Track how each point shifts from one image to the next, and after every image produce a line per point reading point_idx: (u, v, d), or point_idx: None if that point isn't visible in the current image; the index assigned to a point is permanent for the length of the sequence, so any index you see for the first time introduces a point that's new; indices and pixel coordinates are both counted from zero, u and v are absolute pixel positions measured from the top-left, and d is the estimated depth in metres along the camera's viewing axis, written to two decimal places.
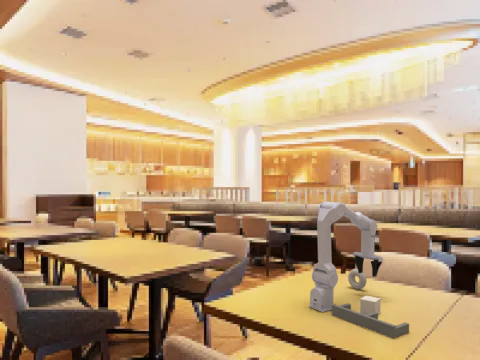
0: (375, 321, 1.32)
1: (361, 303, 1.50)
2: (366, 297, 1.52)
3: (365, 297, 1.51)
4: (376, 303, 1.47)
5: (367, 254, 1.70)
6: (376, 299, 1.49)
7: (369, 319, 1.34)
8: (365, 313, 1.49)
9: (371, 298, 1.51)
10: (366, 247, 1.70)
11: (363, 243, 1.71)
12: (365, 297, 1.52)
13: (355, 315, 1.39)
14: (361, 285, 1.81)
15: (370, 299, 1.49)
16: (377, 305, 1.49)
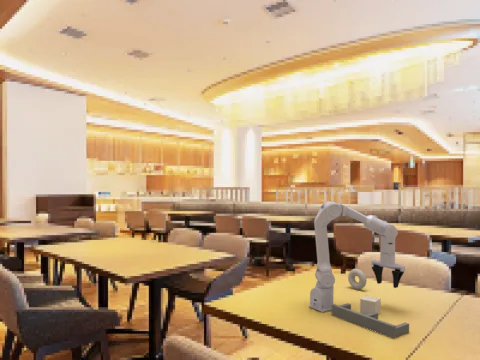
0: (375, 321, 1.32)
1: (361, 303, 1.50)
2: (366, 297, 1.52)
3: (365, 297, 1.51)
4: (376, 303, 1.47)
5: (387, 263, 1.55)
6: (376, 299, 1.49)
7: (369, 319, 1.34)
8: (365, 313, 1.49)
9: (371, 298, 1.51)
10: (386, 255, 1.55)
11: (380, 250, 1.57)
12: (365, 297, 1.52)
13: (355, 315, 1.39)
14: (361, 285, 1.81)
15: (370, 299, 1.49)
16: (377, 305, 1.49)
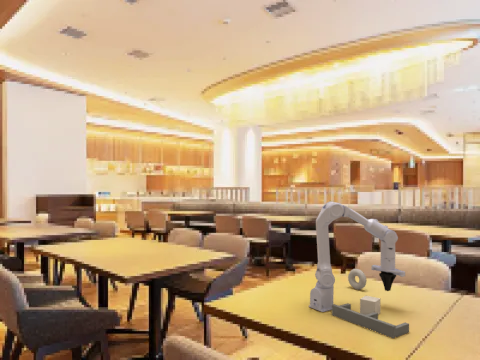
0: (375, 321, 1.32)
1: (361, 303, 1.50)
2: (366, 297, 1.52)
3: (365, 297, 1.51)
4: (376, 303, 1.47)
5: (388, 268, 1.54)
6: (376, 299, 1.49)
7: (369, 319, 1.34)
8: (365, 313, 1.49)
9: (371, 298, 1.51)
10: (386, 260, 1.55)
11: (381, 255, 1.57)
12: (365, 297, 1.52)
13: (355, 315, 1.39)
14: (361, 285, 1.81)
15: (370, 299, 1.49)
16: (377, 305, 1.49)
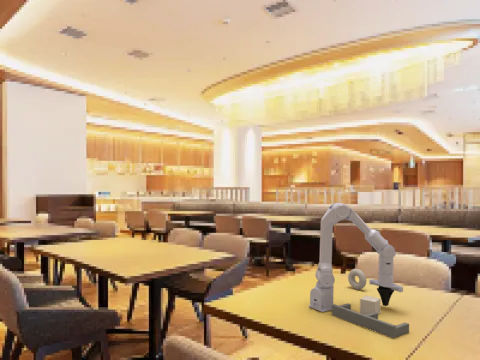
0: (375, 321, 1.32)
1: (361, 303, 1.50)
2: (366, 297, 1.52)
3: (365, 297, 1.51)
4: (376, 303, 1.47)
5: (385, 283, 1.54)
6: (376, 299, 1.49)
7: (369, 319, 1.34)
8: (365, 313, 1.49)
9: (371, 298, 1.51)
10: (384, 275, 1.54)
11: None
12: (365, 297, 1.52)
13: (355, 315, 1.39)
14: (361, 285, 1.81)
15: (370, 299, 1.49)
16: (377, 305, 1.49)
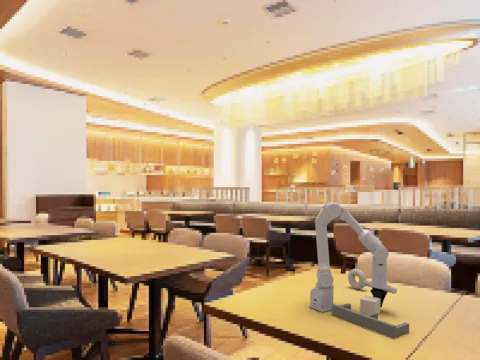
0: (375, 321, 1.32)
1: (361, 303, 1.50)
2: (366, 297, 1.52)
3: (365, 297, 1.51)
4: (376, 303, 1.47)
5: (379, 285, 1.51)
6: (376, 299, 1.49)
7: (369, 319, 1.34)
8: (365, 313, 1.49)
9: (371, 298, 1.51)
10: (378, 277, 1.51)
11: (372, 271, 1.54)
12: (365, 297, 1.52)
13: (355, 315, 1.39)
14: (361, 285, 1.81)
15: (370, 299, 1.49)
16: (377, 305, 1.49)
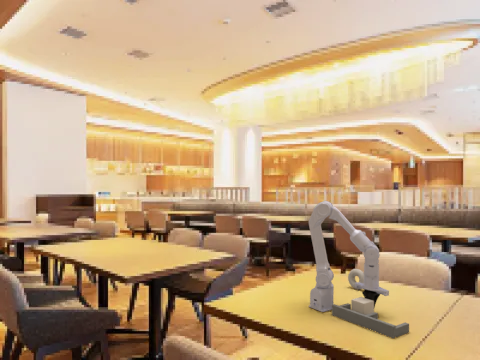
0: (375, 321, 1.32)
1: (352, 304, 1.48)
2: (359, 298, 1.50)
3: (358, 299, 1.49)
4: (366, 305, 1.44)
5: (371, 286, 1.48)
6: (368, 301, 1.46)
7: (369, 319, 1.34)
8: None
9: (363, 300, 1.48)
10: (370, 278, 1.48)
11: (364, 272, 1.52)
12: (358, 298, 1.50)
13: (355, 315, 1.39)
14: None
15: (361, 300, 1.47)
16: (369, 307, 1.45)
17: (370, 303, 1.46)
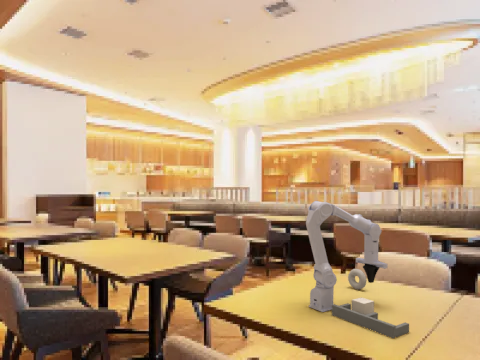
0: (375, 321, 1.32)
1: (352, 304, 1.48)
2: (359, 299, 1.50)
3: (358, 299, 1.49)
4: (366, 305, 1.45)
5: (371, 260, 1.59)
6: (368, 301, 1.46)
7: (369, 319, 1.34)
8: None
9: (364, 300, 1.48)
10: (370, 253, 1.60)
11: (365, 248, 1.62)
12: (358, 299, 1.50)
13: (355, 315, 1.39)
14: (361, 285, 1.81)
15: (361, 301, 1.47)
16: (369, 308, 1.45)
17: (370, 303, 1.46)
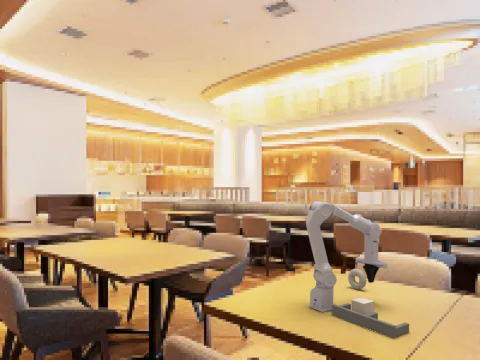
0: (375, 321, 1.32)
1: (352, 304, 1.48)
2: (359, 299, 1.50)
3: (358, 299, 1.49)
4: (366, 305, 1.45)
5: (371, 260, 1.59)
6: (368, 301, 1.46)
7: (369, 319, 1.34)
8: None
9: (364, 300, 1.48)
10: (370, 253, 1.60)
11: (365, 248, 1.62)
12: (358, 299, 1.50)
13: (355, 315, 1.39)
14: (361, 285, 1.81)
15: (361, 301, 1.47)
16: (369, 308, 1.45)
17: (370, 303, 1.46)
